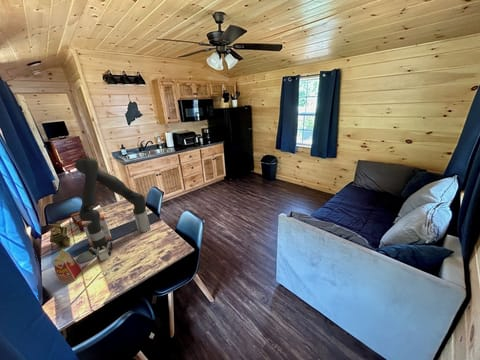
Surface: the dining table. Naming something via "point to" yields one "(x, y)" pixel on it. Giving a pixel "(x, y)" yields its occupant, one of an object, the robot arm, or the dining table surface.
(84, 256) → the disc
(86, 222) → the cracker box
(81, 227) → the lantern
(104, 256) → the cube
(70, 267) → the milk carton
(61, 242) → the olive piece
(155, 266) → the dining table surface
